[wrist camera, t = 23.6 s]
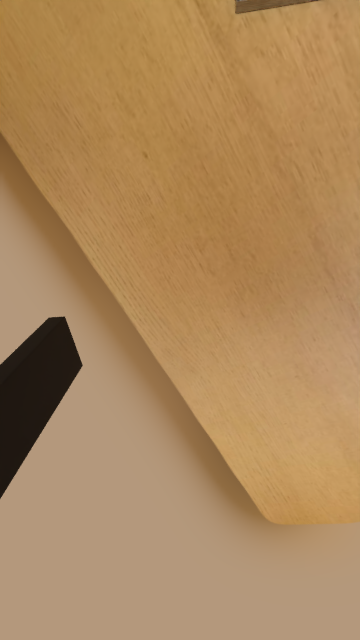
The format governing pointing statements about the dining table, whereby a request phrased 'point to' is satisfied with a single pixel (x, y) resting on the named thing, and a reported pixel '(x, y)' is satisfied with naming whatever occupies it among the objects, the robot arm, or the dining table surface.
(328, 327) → the dining table surface
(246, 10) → the drip tray
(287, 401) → the dining table surface
